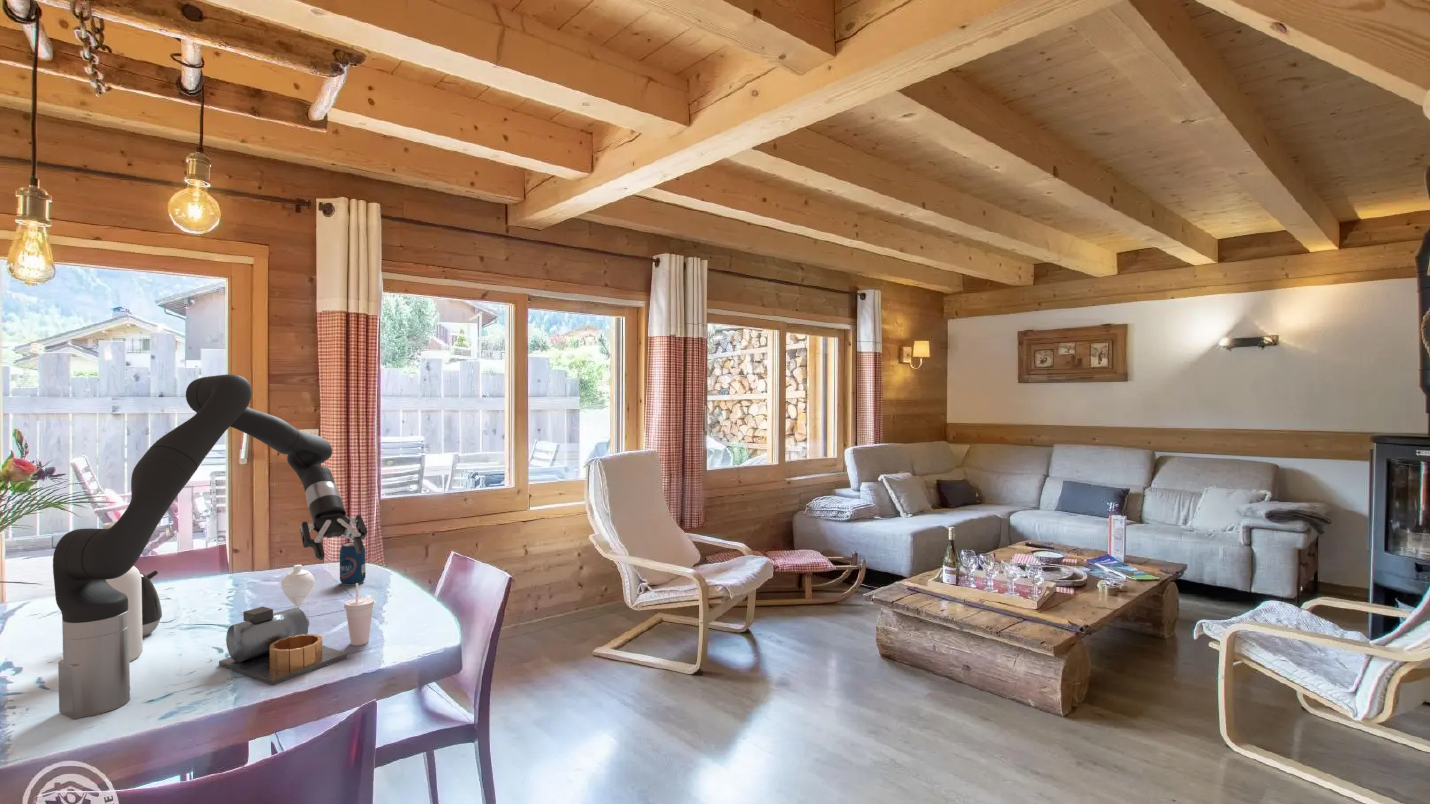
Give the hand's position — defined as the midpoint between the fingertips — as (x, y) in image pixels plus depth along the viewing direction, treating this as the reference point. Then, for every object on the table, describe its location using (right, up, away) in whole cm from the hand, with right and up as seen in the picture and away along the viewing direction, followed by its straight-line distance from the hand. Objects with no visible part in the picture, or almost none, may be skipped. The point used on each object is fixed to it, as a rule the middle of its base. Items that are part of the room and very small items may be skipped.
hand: (341, 555), depth 171 cm
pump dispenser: (-47, -19, -4) cm, 51 cm away
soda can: (-18, -18, +41) cm, 48 cm away
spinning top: (-20, -18, +15) cm, 31 cm away
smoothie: (+9, -19, -8) cm, 22 cm away
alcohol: (-39, -19, -19) cm, 47 cm away
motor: (-2, -19, -19) cm, 27 cm away
